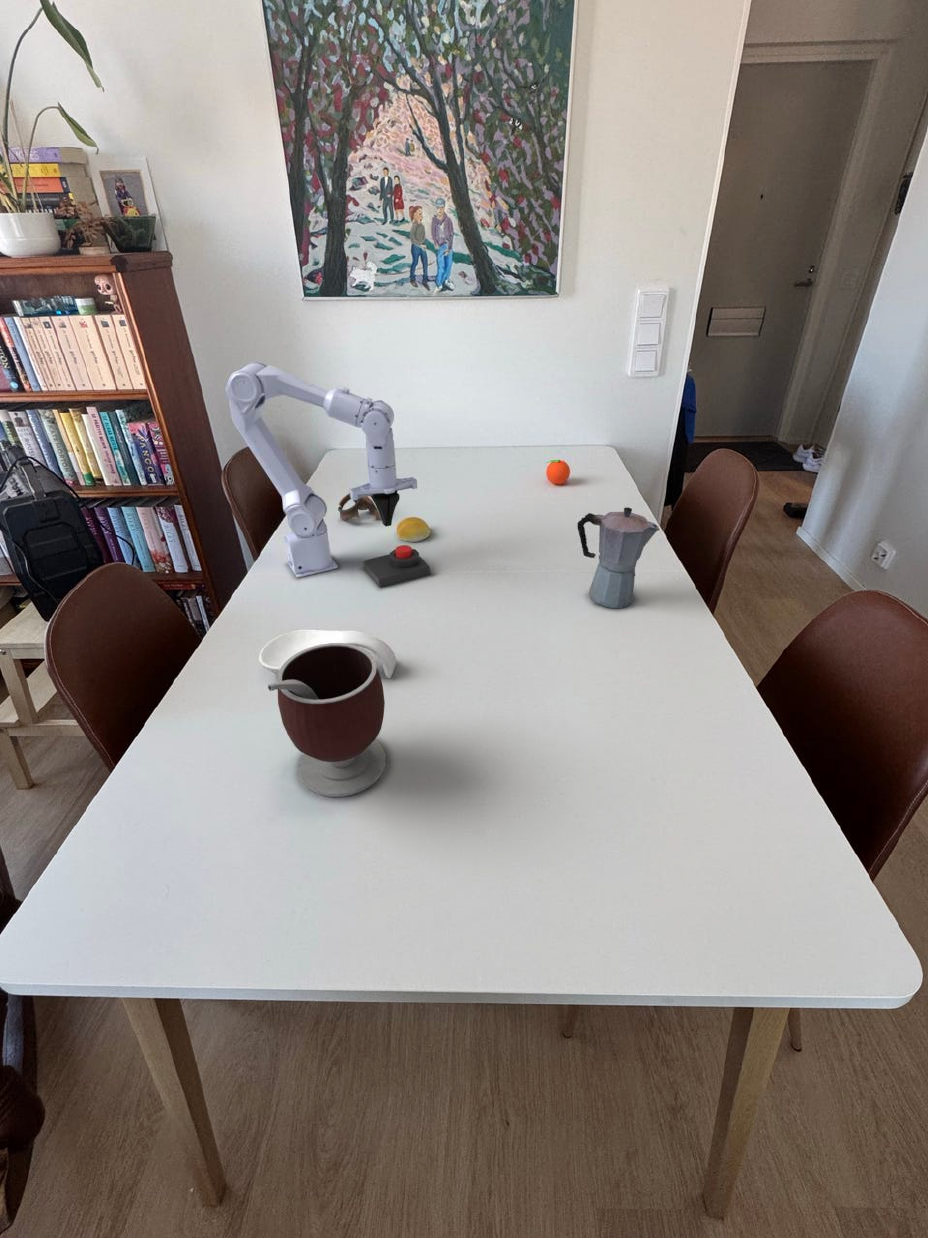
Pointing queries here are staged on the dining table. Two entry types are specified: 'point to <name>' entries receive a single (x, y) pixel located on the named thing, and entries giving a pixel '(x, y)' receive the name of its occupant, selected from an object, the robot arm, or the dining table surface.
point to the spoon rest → (299, 640)
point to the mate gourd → (333, 716)
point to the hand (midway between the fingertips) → (386, 524)
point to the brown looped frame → (356, 507)
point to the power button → (403, 551)
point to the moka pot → (616, 554)
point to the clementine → (557, 471)
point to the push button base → (396, 568)
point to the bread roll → (413, 529)
